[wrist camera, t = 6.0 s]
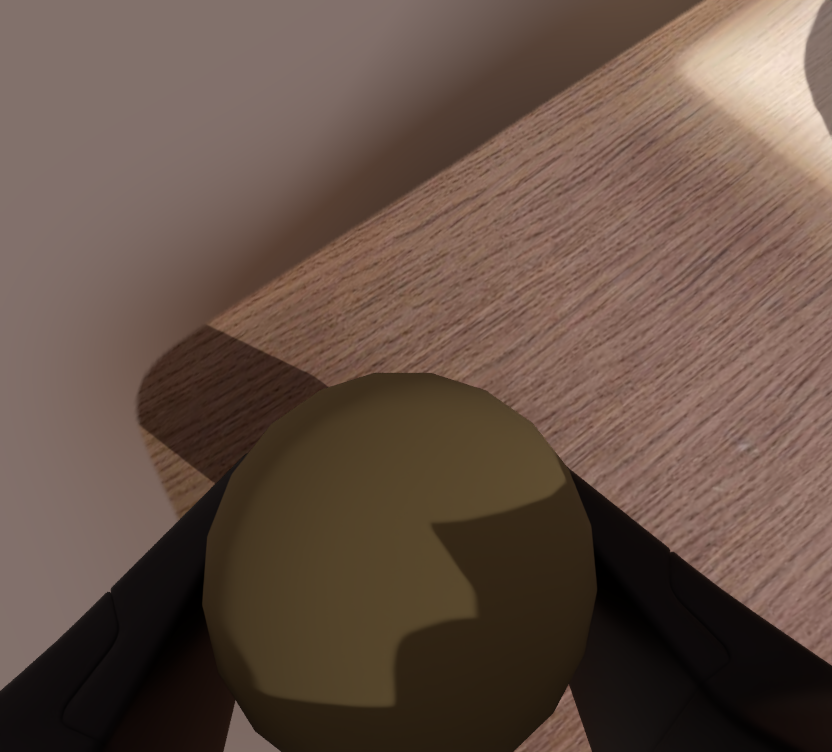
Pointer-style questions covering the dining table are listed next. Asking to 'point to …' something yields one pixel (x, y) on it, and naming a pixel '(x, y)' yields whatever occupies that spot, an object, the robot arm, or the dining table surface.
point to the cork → (399, 572)
